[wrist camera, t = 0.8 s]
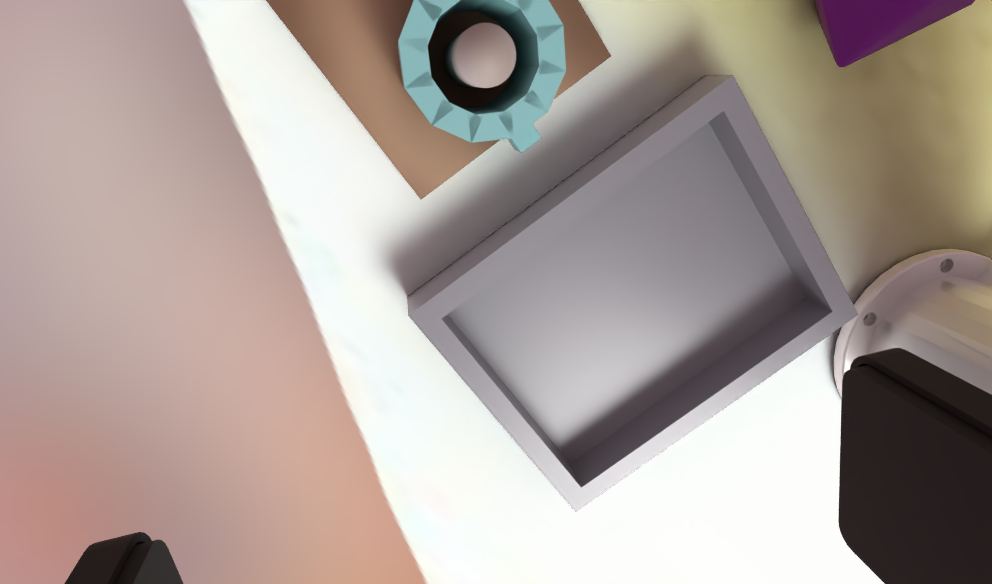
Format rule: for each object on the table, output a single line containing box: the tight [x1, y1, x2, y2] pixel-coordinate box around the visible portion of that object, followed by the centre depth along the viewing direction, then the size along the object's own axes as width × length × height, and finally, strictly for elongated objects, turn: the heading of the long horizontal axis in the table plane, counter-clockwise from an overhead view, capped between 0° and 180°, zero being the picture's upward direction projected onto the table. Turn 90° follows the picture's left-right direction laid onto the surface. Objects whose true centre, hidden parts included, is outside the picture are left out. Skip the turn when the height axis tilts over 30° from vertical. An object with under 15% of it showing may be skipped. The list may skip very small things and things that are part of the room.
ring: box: [398, 0, 566, 153], centre depth 29 cm, size 7×8×6 cm
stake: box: [266, 0, 611, 199], centre depth 28 cm, size 12×12×8 cm
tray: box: [407, 75, 859, 512], centre depth 36 cm, size 20×16×3 cm
